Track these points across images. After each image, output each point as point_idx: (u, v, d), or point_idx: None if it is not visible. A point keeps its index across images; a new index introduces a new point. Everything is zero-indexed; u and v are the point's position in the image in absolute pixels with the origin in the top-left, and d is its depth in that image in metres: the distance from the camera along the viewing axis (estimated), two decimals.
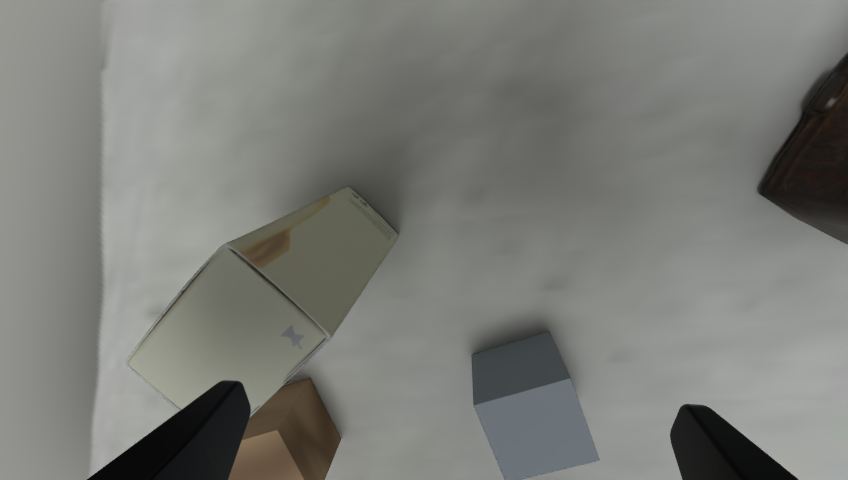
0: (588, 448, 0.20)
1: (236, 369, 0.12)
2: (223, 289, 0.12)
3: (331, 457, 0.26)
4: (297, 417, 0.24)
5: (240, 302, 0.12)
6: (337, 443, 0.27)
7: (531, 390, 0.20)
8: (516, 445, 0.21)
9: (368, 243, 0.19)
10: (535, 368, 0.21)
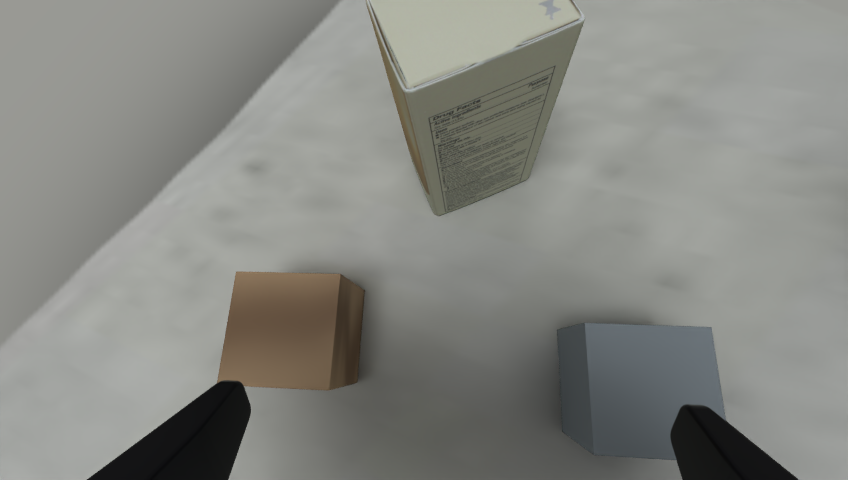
0: None
1: (475, 21, 0.13)
2: None
3: (348, 381, 0.20)
4: (349, 297, 0.20)
5: None
6: (354, 380, 0.21)
7: (661, 327, 0.16)
8: (623, 398, 0.16)
9: None
10: None
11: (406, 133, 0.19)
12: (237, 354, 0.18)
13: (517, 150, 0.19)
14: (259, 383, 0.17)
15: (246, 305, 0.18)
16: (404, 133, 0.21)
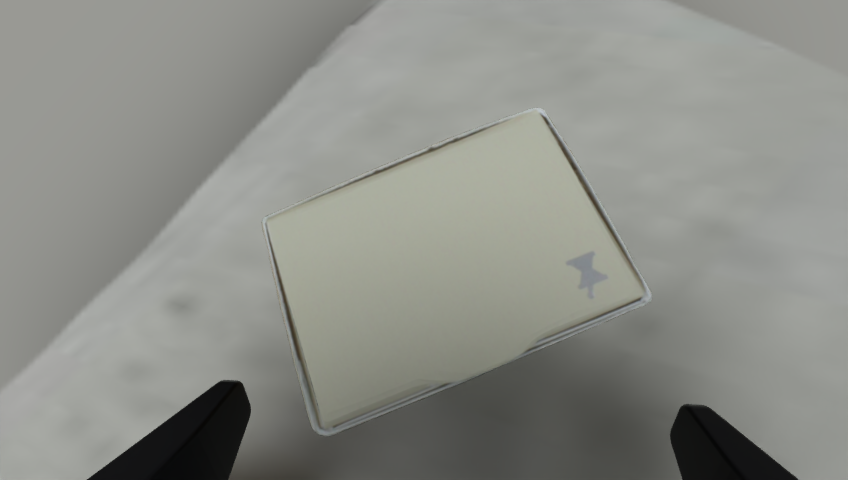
0: None
1: (450, 294, 0.07)
2: (504, 162, 0.07)
3: None
4: None
5: (522, 187, 0.07)
6: None
7: None
8: None
9: None
10: None
11: None
12: None
13: None
14: None
15: None
16: None
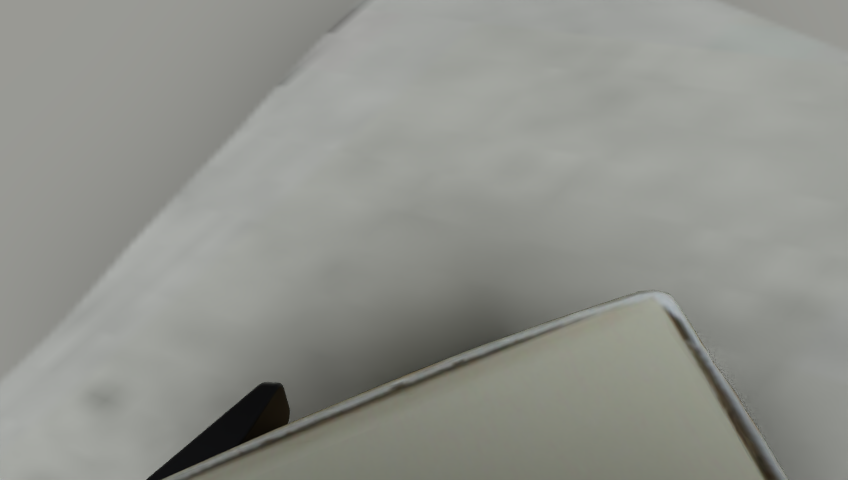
0: None
1: None
2: (583, 452, 0.03)
3: None
4: None
5: None
6: None
7: None
8: None
9: None
10: None
11: None
12: None
13: None
14: None
15: None
16: None
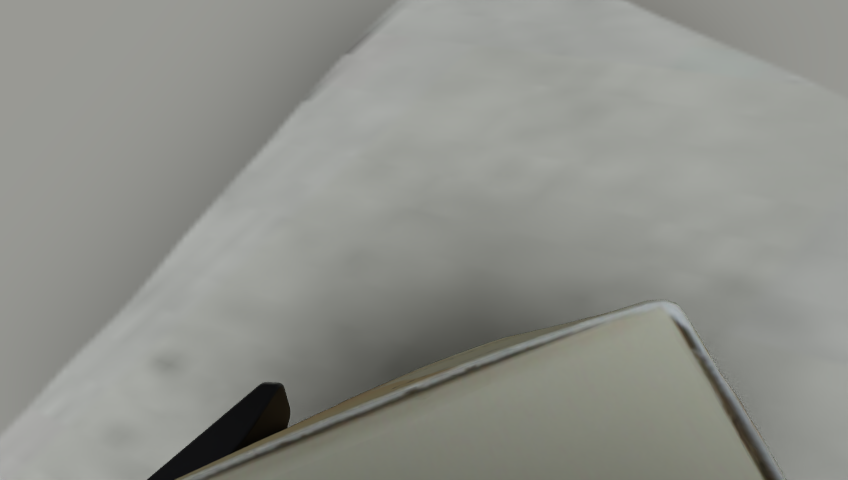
0: None
1: None
2: (592, 456, 0.03)
3: None
4: None
5: None
6: None
7: None
8: None
9: None
10: None
11: None
12: None
13: None
14: None
15: None
16: None
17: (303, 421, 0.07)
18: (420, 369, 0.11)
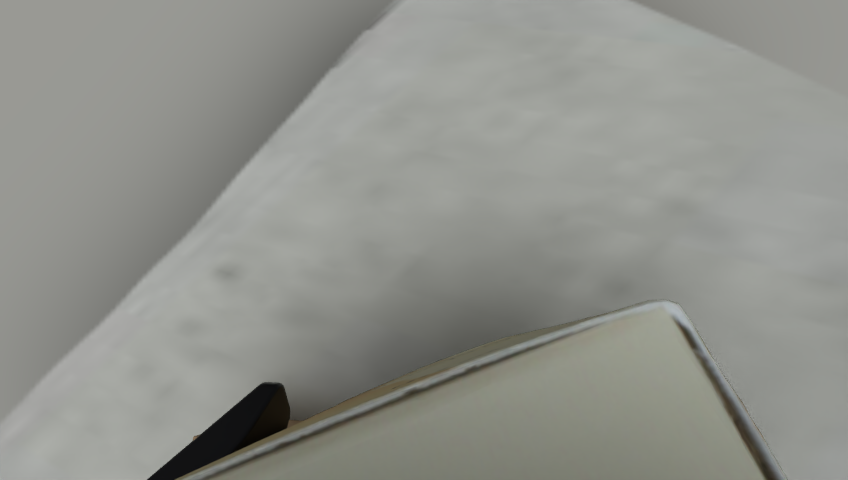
0: None
1: None
2: (593, 457, 0.03)
3: None
4: None
5: None
6: None
7: None
8: None
9: None
10: None
11: None
12: None
13: None
14: None
15: None
16: None
17: (302, 421, 0.06)
18: (420, 369, 0.11)
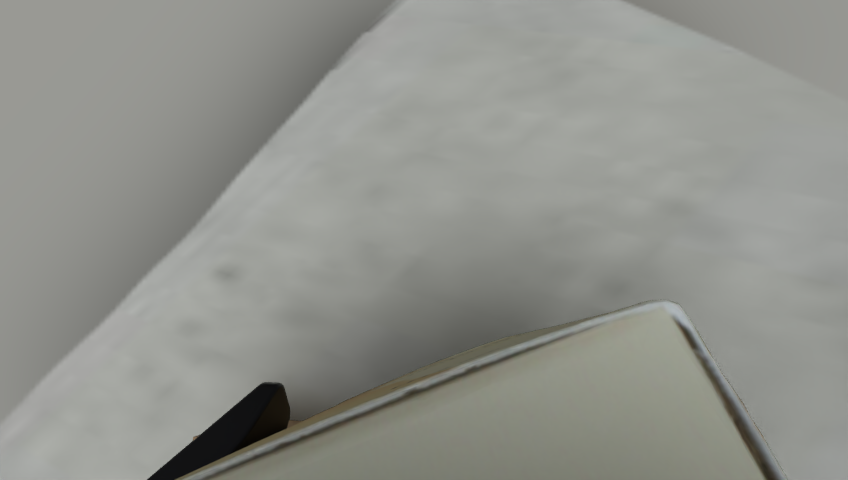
0: None
1: None
2: (594, 458, 0.03)
3: None
4: None
5: None
6: None
7: None
8: None
9: None
10: None
11: None
12: None
13: None
14: None
15: None
16: None
17: (302, 421, 0.06)
18: (420, 369, 0.11)
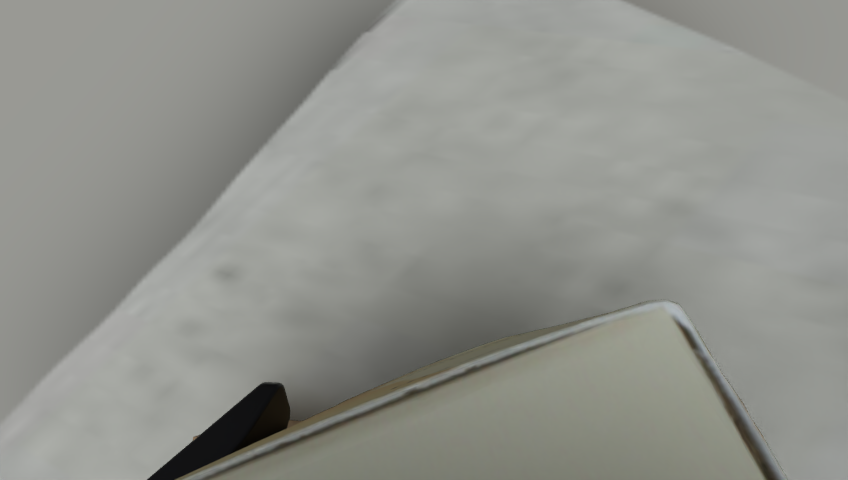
0: None
1: None
2: (594, 458, 0.03)
3: None
4: None
5: None
6: None
7: None
8: None
9: None
10: None
11: None
12: None
13: None
14: None
15: None
16: None
17: (302, 421, 0.06)
18: (420, 369, 0.11)
